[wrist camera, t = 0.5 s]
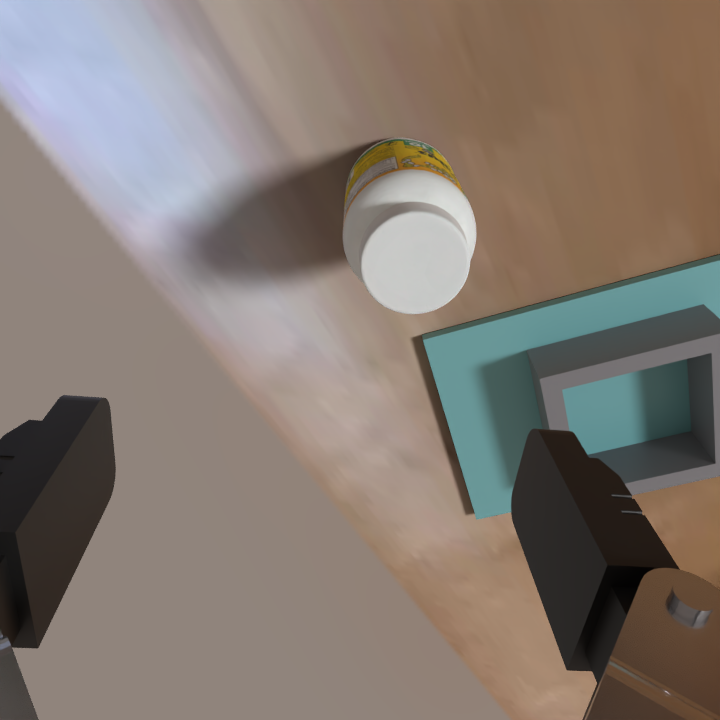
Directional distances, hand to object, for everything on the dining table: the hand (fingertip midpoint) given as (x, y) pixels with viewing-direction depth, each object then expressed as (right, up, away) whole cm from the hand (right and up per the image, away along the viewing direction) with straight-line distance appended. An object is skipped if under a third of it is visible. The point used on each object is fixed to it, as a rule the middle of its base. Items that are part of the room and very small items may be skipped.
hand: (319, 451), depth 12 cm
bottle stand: (+16, 0, +25) cm, 29 cm away
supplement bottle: (+3, +10, +19) cm, 22 cm away
